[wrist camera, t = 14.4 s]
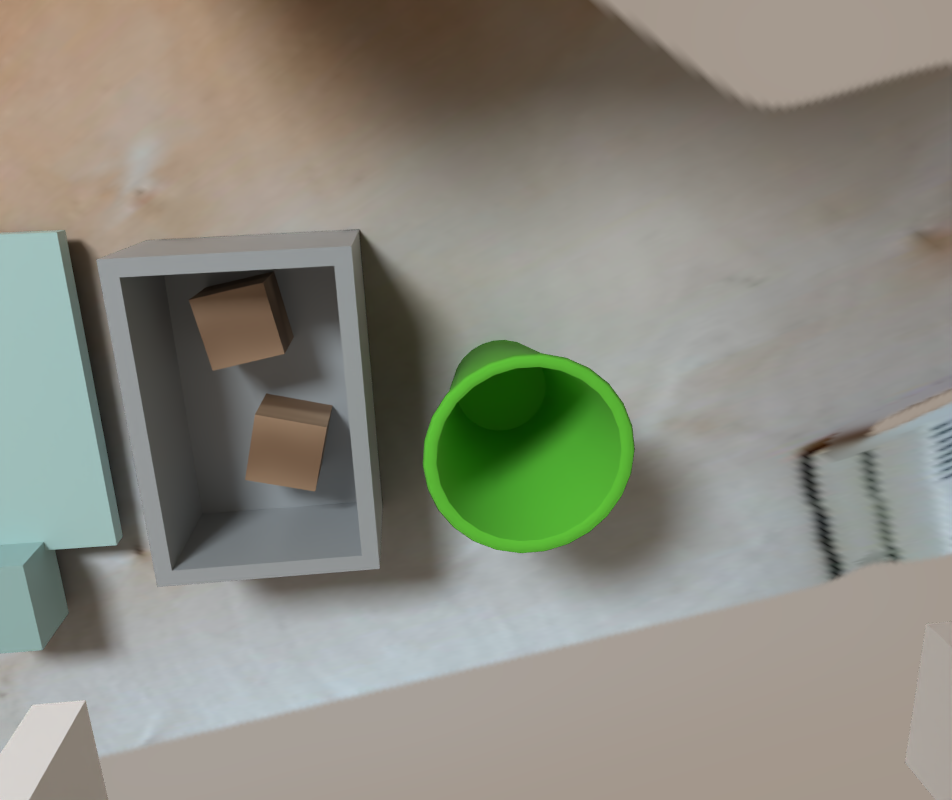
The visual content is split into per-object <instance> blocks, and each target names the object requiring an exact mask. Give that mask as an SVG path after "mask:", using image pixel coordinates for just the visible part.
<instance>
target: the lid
mask: <svg viewBox="0 0 952 800" xmlns="http://www.w3.org/2000/svg"><path fill="white" fill-rule="evenodd" d="M122 537H123V535H122V530H121V524H120V519H119V514H118V508H117V503H116V498H115V492H114V487H113V482H112V477H111V471H110V466H109V461H108V455H107V450H106V445H105V439H104V434H103V429H102V423H101V418H100V413H99V407H98V402H97V397H96V392H95V386H94V381H93V376H92V370H91V365H90V360H89V354H88V349H87V344H86V338H85V333H84V328H83V322H82V317H81V312H80V306H79V301H78V296H77V291H76V285H75V280H74V275H73V269H72V264H71V259H70V253H69V248H68V243H67V237H66V232H65V230H54V231H30V232H5V233H0V653H13V652H25V651H38V650H43V649H44V647H45V646H46V645H47V643H48V642H49V640H50V639H51V637H52V636H53V635H54V633H55V632H56V630H57V629H58V627H59V626H60V625H61V623H62V622H63V620H64V619H65V617H66V616H67V615H68V613H69V612H68V607H67V602H66V598H65V593H64V589H63V584H62V580H61V575H60V570H59V566H58V561H57V557H56V552H55V549H70V548H84V547H98V546H112V545H117V544H118V543H119V541H120V540H121V538H122Z"/></svg>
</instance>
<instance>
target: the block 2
mask: <svg viewBox="0 0 952 800" xmlns="http://www.w3.org/2000/svg"><path fill="white" fill-rule="evenodd" d="M331 411H332V405H328V404H322V403H317V402H311V401H306V400H300V399H295V398H289V397H283V396H278V395H272V394H267V393H266V395H265V397H264V399H263V400H262V402H261V404H260V406H259V408H258V410H257V412H256V413H255V417H254V424H253V430H252V437H251V443H250V450H249V457H248V463H247V470H246V476H245V480H248V481H254V482H260V483H267V484H273V485H279V486H285V487H291V488H297V489H303V490H309V491H316V487H317V483H318V478H319V474H320V470H321V466H322V461H323V455H324V450H325V444H326V439H327V433H328V428H329V422H330V417H331Z"/></svg>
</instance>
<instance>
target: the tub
mask: <svg viewBox="0 0 952 800" xmlns="http://www.w3.org/2000/svg"><path fill="white" fill-rule="evenodd" d="M96 260H97V266H98V271H99V276H100V282H101V287H102V293H103V298H104V303H105V309H106V314H107V319H108V325H109V330H110V335H111V341H112V346H113V352H114V357H115V362H116V368H117V373H118V378H119V384H120V389H121V394H122V400H123V405H124V411H125V416H126V421H127V427H128V432H129V437H130V443H131V448H132V454H133V459H134V464H135V470H136V475H137V480H138V486H139V491H140V496H141V502H142V507H143V513H144V518H145V523H146V529H147V534H148V539H149V545H150V550H151V555H152V561H153V566H154V572H155V577H156V582H157V587H163V586H175V585H187V584H200V583H212V582H224V581H236V580H249V579H261V578H273V577H285V576H298V575H310V574H322V573H334V572H347V571H359V570H371V569H380V554H381V533H382V512H383V504H382V492H381V480H380V469H379V457H378V445H377V433H376V422H375V410H374V398H373V386H372V374H371V363H370V351H369V339H368V327H367V315H366V304H365V292H364V280H363V268H362V257H361V245H360V233H359V229H358V230H339V231H319V232H300V233H280V234H260V235H241V236H221V237H202V238H182V239H162V240H146V241H143V242H141V243H138V244H136V245H133V246H130V247H128V248H125V249H122V250H120V251H117V252H115V253H112V254H109V255H107V256H104V257H101V258H99V259H96ZM273 271H274V273H275V276H276V279H277V283H278V286H279V289H280V292H281V296H282V299H283V302H284V306H285V309H286V312H287V316H288V319H289V322H290V326H291V329H292V332H293V336H294V338H293V340H292V341H291V343H290V345H289V347H288V349H287V351H286V352H285V354H282V355H278V356H274V357H269V358H265V359H261V360H257V361H252V362H248V363H244V364H240V365H235V366H231V367H227V368H223V369H218V370H214V371H213V370H212V367H211V364H210V361H209V358H208V355H207V352H206V349H205V346H204V343H203V340H202V337H201V335H200V332H199V329H198V326H197V323H196V320H195V317H194V314H193V311H192V308H191V305H190V302H189V299H191V298H192V297H193V296H195V295H196V294H197V293H199V292H200V291H202V290H203V289H204V288H206V287H209V286H213V285H217V284H222V283H226V282H230V281H234V280H239V279H243V278H247V277H252V276H256V275H260V274H264V273H269V272H273ZM266 393H267V394H272V395H278V396H283V397H289V398H295V399H300V400H306V401H311V402H317V403H322V404H328V405H332V411H331V417H330V422H329V428H328V433H327V439H326V444H325V450H324V455H323V461H322V466H321V470H320V474H319V478H318V483H317V487H316V491H309V490H303V489H297V488H291V487H285V486H279V485H273V484H267V483H260V482H254V481H248V480H245V476H246V470H247V463H248V457H249V450H250V443H251V437H252V430H253V424H254V417H255V413H256V412H257V410H258V408H259V406H260V404H261V402H262V400H263V399H264V397H265V395H266Z"/></svg>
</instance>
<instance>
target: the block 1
mask: <svg viewBox="0 0 952 800" xmlns="http://www.w3.org/2000/svg"><path fill="white" fill-rule="evenodd" d="M189 302H190V305H191V308H192V311H193V314H194V317H195V320H196V323H197V326H198V329H199V332H200V335H201V337H202V340H203V343H204V346H205V349H206V352H207V355H208V358H209V361H210V364H211V367H212V370H213V371H214V370H218V369H223V368H227V367H231V366H235V365H240V364H244V363H248V362H252V361H257V360H261V359H265V358H269V357H274V356H278V355H282V354H285V352H286V351H287V349H288V347H289V345H290V343H291V341H292V340H293V338H294V336H293V332H292V329H291V326H290V322H289V319H288V316H287V312H286V309H285V306H284V302H283V299H282V296H281V292H280V289H279V286H278V283H277V279H276V276H275V273H274V271H273V272H269V273H264V274H260V275H256V276H252V277H247V278H243V279H239V280H234V281H230V282H226V283H222V284H217V285H213V286H209V287H206V288H204V289H203V290H202V291H200V292H199V293H197V294H196V295H195V296H193V297H192V298H191V299H189Z"/></svg>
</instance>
